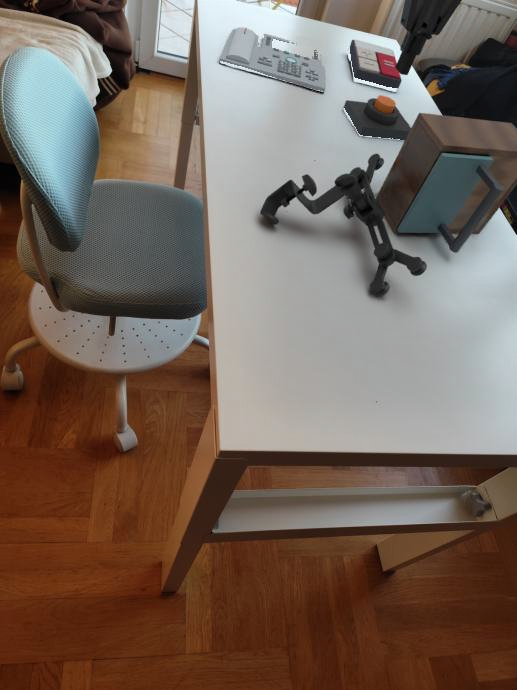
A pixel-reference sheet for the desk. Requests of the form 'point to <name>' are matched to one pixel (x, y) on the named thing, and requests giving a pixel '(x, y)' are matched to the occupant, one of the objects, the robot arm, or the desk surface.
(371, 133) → the switch block
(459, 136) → the closet
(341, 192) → the tablet mount
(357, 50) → the button panel
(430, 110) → the desk surface
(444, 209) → the sliding door
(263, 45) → the office telephone
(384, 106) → the light button
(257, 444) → the desk surface
